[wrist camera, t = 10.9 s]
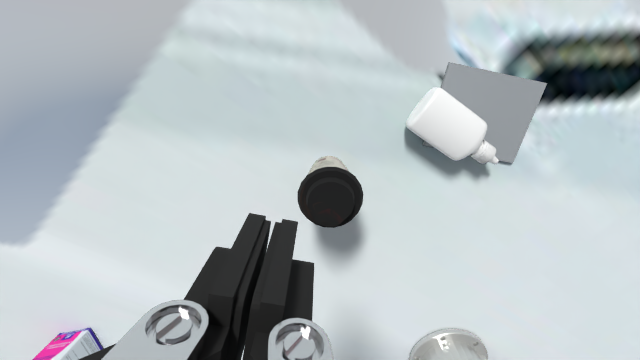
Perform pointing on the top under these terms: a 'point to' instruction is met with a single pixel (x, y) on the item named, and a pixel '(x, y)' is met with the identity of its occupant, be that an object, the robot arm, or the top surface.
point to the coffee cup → (330, 193)
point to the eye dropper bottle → (451, 127)
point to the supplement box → (71, 346)
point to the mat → (495, 104)
